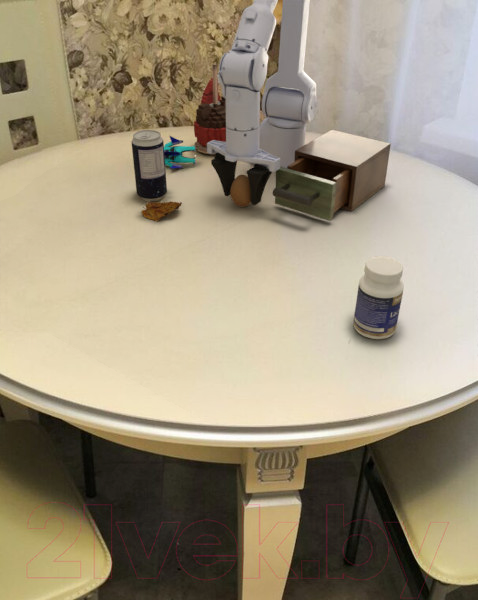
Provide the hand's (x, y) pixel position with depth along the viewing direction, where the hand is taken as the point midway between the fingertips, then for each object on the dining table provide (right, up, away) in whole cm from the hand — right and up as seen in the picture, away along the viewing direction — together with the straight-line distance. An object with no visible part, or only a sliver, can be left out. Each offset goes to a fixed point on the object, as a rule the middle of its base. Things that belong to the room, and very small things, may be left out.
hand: (242, 198), depth 113 cm
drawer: (+13, -1, -1) cm, 13 cm away
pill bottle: (+18, -22, -29) cm, 41 cm away
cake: (-6, +15, +24) cm, 28 cm away
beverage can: (-17, +1, +4) cm, 18 cm away
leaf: (-15, -3, -1) cm, 15 cm away
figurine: (-16, +9, +15) cm, 24 cm away
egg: (0, -1, +1) cm, 2 cm away
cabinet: (+19, +3, +6) cm, 20 cm away
